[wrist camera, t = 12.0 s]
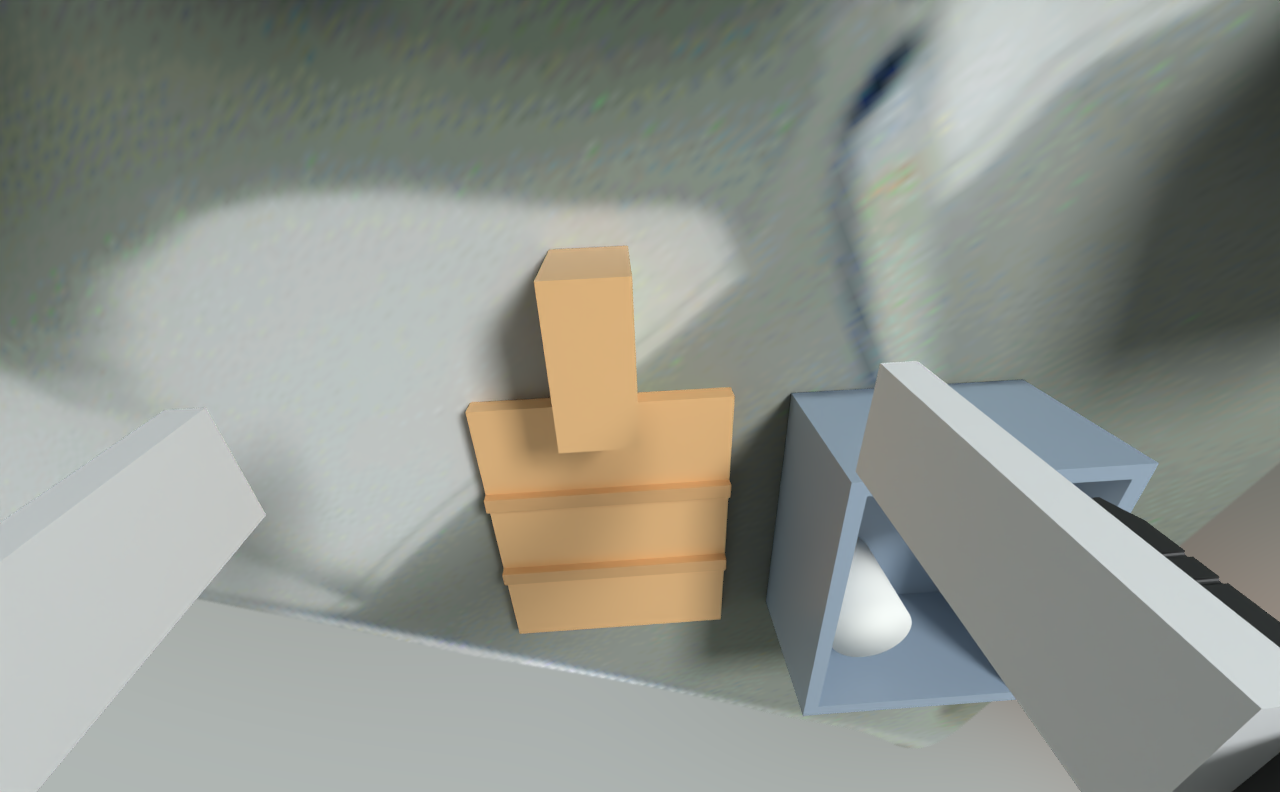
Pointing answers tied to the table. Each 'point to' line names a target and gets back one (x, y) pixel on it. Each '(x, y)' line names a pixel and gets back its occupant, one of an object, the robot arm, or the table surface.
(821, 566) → the tub
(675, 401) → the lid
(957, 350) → the table surface
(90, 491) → the robot arm
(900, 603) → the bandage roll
